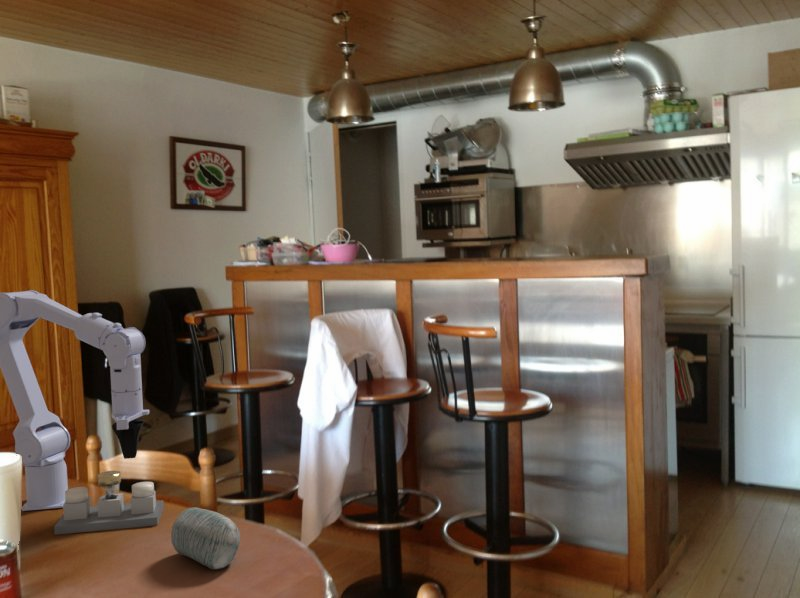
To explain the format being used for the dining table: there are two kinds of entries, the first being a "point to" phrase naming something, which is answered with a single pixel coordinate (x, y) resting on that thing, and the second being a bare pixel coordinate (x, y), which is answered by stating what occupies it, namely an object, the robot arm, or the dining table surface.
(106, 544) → the dining table surface
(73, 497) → the ivory knob
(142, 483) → the ivory knob
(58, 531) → the mount
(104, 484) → the brass knob
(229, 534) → the spool
